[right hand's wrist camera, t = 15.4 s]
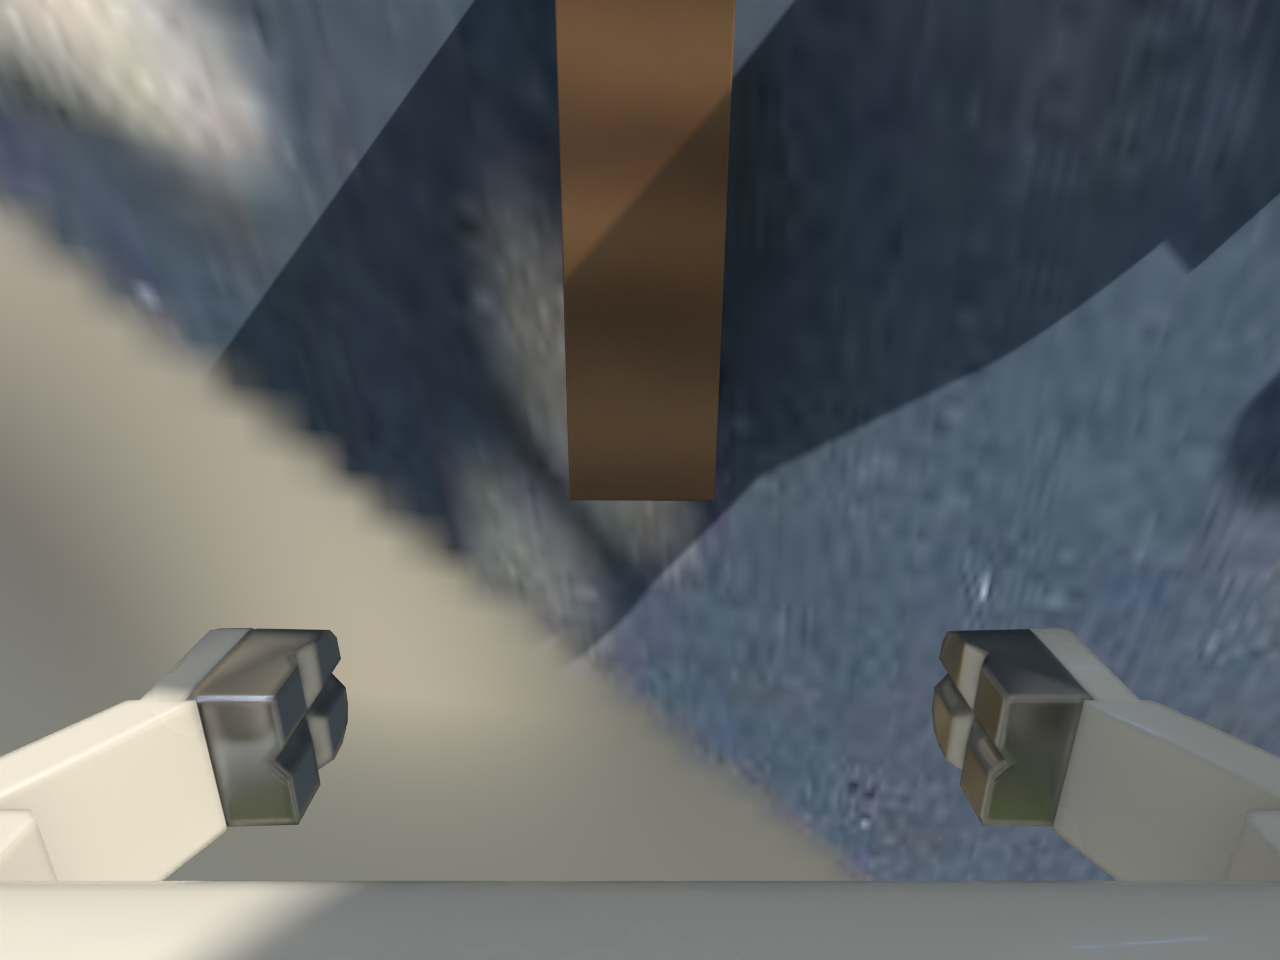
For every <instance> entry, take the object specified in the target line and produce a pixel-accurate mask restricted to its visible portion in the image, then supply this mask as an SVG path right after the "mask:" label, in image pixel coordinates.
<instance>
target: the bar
mask: <svg viewBox="0 0 1280 960" xmlns="http://www.w3.org/2000/svg"><path fill="white" fill-rule="evenodd" d="M555 21H556V54H557V88H558V121H559V154H560V188H561V221H562V254H563V287H564V321H565V354H566V387H567V421H568V454H569V487H570V500H655V501H714V498H715V474H716V450H717V427H718V403H719V379H720V356H721V332H722V308H723V284H724V261H725V237H726V213H727V189H728V166H729V142H730V118H731V94H732V71H733V47H734V23H735V0H555Z"/></svg>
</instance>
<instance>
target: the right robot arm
mask: <svg viewBox="0 0 1280 960" xmlns="http://www.w3.org/2000/svg"><path fill="white" fill-rule="evenodd" d="M340 659H341V657H340V652H339V647H338V642H337V637H336V636H335V635H334V634H333V633H332V632H331V631H330V630H300V629H253V628H228V629H216V630H211V631H209V632H208V633H207V634H206V635H205V636H204V637H203V638H202V639H201V640H200V641H199V642H198V643H197V644H196V645H195V646H194V647H193V648H192V649H191V650H190V651H189V652H188V653H187V654H186V655H185V656H184V657H183V658H182V659H181V660H180V661H179V662H178V663H177V664H176V665H175V666H174V667H173V668H172V669H171V670H170V671H169V672H168V673H167V674H166V675H165V676H164V677H163V678H162V679H161V680H160V681H159V682H158V683H157V684H156V685H155V686H154V687H153V688H152V689H151V690H150V691H149V692H148V693H147V694H146V695H145V696H144V697H143V698H142V699H141V700H127V701H125V702H122V703H120V704H118V705H116V706H113V707H111V708H109V709H107V710H104V711H102V712H100V713H98V714H96V715H93V716H91V717H89V718H86V719H84V720H82V721H80V722H78V723H75V724H73V725H71V726H69V727H66V728H64V729H62V730H60V731H57V732H55V733H53V734H51V735H48V736H46V737H44V738H42V739H39V740H37V741H35V742H33V743H30V744H28V745H26V746H24V747H21V748H19V749H17V750H15V751H13V752H10V753H8V754H6V755H4V756H1V757H0V960H1280V757H1278V756H1276V755H1274V754H1272V753H1269V752H1267V751H1265V750H1263V749H1260V748H1258V747H1256V746H1254V745H1252V744H1249V743H1247V742H1245V741H1243V740H1240V739H1238V738H1236V737H1234V736H1231V735H1229V734H1227V733H1225V732H1222V731H1220V730H1218V729H1216V728H1214V727H1211V726H1209V725H1207V724H1205V723H1202V722H1200V721H1198V720H1196V719H1193V718H1191V717H1189V716H1187V715H1184V714H1182V713H1180V712H1178V711H1176V710H1173V709H1171V708H1169V707H1167V706H1164V705H1162V704H1160V703H1158V702H1155V701H1153V700H1140V699H1139V698H1138V697H1137V696H1136V695H1134V694H1133V693H1132V692H1131V691H1130V690H1129V689H1128V688H1127V687H1126V686H1125V685H1124V684H1123V683H1122V682H1121V681H1120V680H1119V679H1118V678H1117V677H1116V676H1115V675H1114V674H1113V673H1112V672H1111V671H1110V670H1109V669H1108V668H1107V667H1106V666H1105V665H1104V664H1103V663H1102V662H1101V661H1100V660H1099V659H1098V658H1097V657H1096V656H1095V655H1094V654H1093V653H1092V652H1091V651H1090V650H1089V649H1088V648H1087V647H1086V646H1085V645H1084V644H1083V643H1082V642H1081V641H1080V640H1079V639H1078V638H1077V637H1076V636H1075V635H1074V634H1073V633H1072V632H1071V631H1068V630H1066V629H1063V628H1043V629H1015V630H975V631H947V633H946V635H945V637H944V639H943V641H942V645H941V651H940V657H939V659H940V661H941V662H942V664H943V666H944V667H945V669H946V670H947V672H948V674H947V675H946V676H945V677H944V678H943V679H942V680H941V681H940V682H939V683H938V684H937V685H936V686H935V688H934V696H933V704H932V716H933V726H934V732H935V735H936V738H937V742H938V745H939V747H940V749H941V751H942V753H943V755H944V756H945V758H946V760H948V761H949V762H951V763H952V764H954V765H955V766H957V767H959V768H960V769H962V774H961V780H960V786H961V788H962V790H963V791H964V793H965V795H966V797H967V799H968V800H969V802H970V804H971V806H972V808H973V809H974V811H975V813H976V815H977V817H978V818H979V820H980V822H981V824H982V825H1013V826H1049V827H1053V829H1052V830H1053V831H1055V832H1056V833H1057V834H1058V835H1060V836H1061V837H1062V838H1063V839H1065V840H1066V841H1067V842H1069V843H1070V844H1071V845H1072V846H1074V847H1075V848H1076V849H1077V850H1079V851H1080V852H1081V853H1082V854H1084V855H1085V856H1086V857H1088V858H1089V859H1090V860H1091V861H1093V862H1094V863H1095V864H1096V865H1098V866H1099V867H1100V868H1101V869H1103V870H1104V871H1105V872H1107V873H1108V874H1109V875H1110V876H1112V877H1113V878H1114V879H1115V880H1117V881H164V880H165V879H166V878H167V877H169V876H170V875H171V874H172V873H174V872H175V871H176V870H177V869H179V868H180V867H181V866H183V865H184V864H185V863H186V862H188V861H189V860H190V859H191V858H193V857H194V856H195V855H197V854H198V853H199V852H200V851H202V850H203V849H204V848H205V847H207V846H208V845H209V844H210V843H212V842H213V841H214V840H216V839H217V838H218V837H219V836H221V835H222V834H223V833H225V832H226V831H227V827H230V826H265V825H298V824H299V822H300V820H301V819H302V817H303V815H304V813H305V811H306V809H307V808H308V806H309V804H310V802H311V800H312V799H313V797H314V795H315V793H316V791H317V790H318V788H319V786H320V780H319V774H318V769H320V768H322V767H323V766H325V765H326V764H327V763H329V762H331V761H332V760H334V758H335V756H336V754H337V753H338V751H339V749H340V747H341V745H342V743H343V738H344V734H345V730H346V726H347V721H348V701H347V694H346V688H345V686H344V685H343V684H342V683H341V682H340V681H339V680H338V679H337V678H336V677H335V676H334V675H333V674H332V672H333V670H334V669H335V667H336V665H337V664H338V662H339V661H340Z"/></svg>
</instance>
